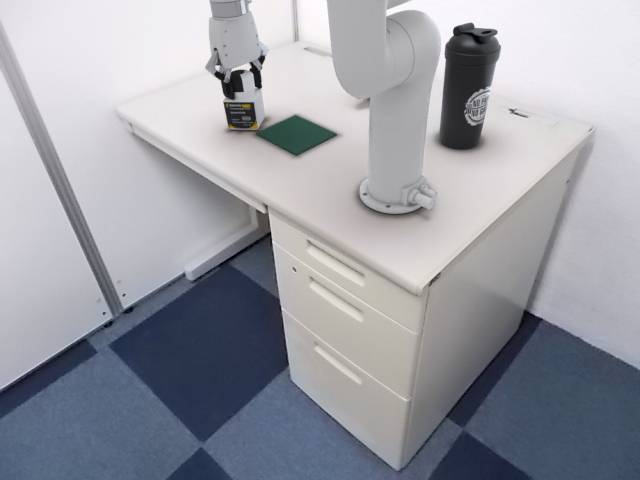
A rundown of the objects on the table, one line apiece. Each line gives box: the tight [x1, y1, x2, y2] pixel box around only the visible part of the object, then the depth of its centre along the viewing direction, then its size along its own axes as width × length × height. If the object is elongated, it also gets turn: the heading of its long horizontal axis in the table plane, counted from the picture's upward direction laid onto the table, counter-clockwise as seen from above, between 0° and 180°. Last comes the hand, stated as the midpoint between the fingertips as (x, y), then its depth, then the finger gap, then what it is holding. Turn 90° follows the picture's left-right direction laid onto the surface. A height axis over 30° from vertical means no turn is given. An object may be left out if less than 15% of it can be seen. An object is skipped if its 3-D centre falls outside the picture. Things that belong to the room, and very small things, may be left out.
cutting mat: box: [255, 114, 338, 156], centre depth 111 cm, size 14×12×1 cm
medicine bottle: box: [222, 69, 266, 131], centre depth 112 cm, size 7×7×12 cm
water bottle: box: [438, 22, 502, 151], centre depth 98 cm, size 10×10×23 cm
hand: (243, 91), depth 111 cm, fingers closed on medicine bottle, 6 cm apart
